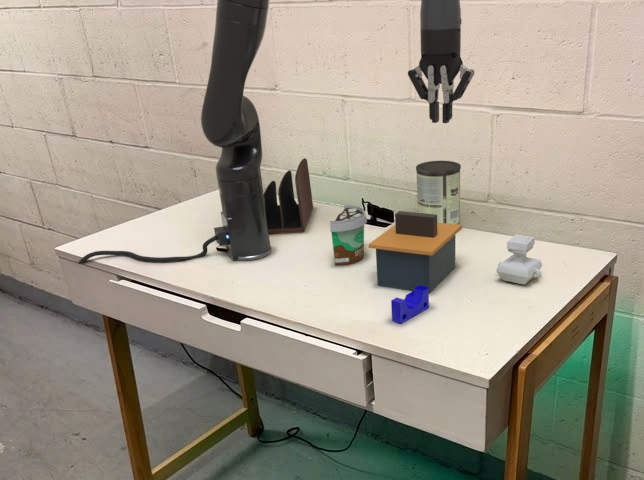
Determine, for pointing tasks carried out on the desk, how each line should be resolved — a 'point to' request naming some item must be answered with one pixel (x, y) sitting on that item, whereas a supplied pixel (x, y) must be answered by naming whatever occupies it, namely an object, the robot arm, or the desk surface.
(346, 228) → the food container
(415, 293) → the cable holder
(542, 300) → the desk surface
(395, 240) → the lid
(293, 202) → the letter holder
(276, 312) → the desk surface
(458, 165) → the coffee can
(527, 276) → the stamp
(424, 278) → the bin
